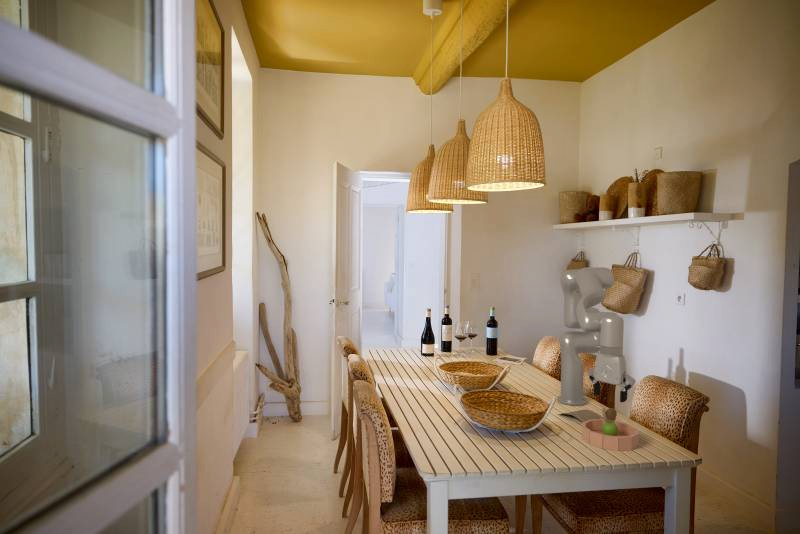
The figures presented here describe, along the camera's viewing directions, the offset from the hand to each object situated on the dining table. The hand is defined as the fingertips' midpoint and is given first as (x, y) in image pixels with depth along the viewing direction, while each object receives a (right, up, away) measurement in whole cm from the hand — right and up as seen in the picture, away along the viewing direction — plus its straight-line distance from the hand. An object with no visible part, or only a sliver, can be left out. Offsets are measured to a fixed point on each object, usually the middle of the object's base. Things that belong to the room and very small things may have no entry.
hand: (609, 398), depth 178 cm
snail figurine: (0, -14, 0) cm, 14 cm away
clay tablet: (-1, -15, +23) cm, 28 cm away
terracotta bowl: (0, -15, 0) cm, 15 cm away
